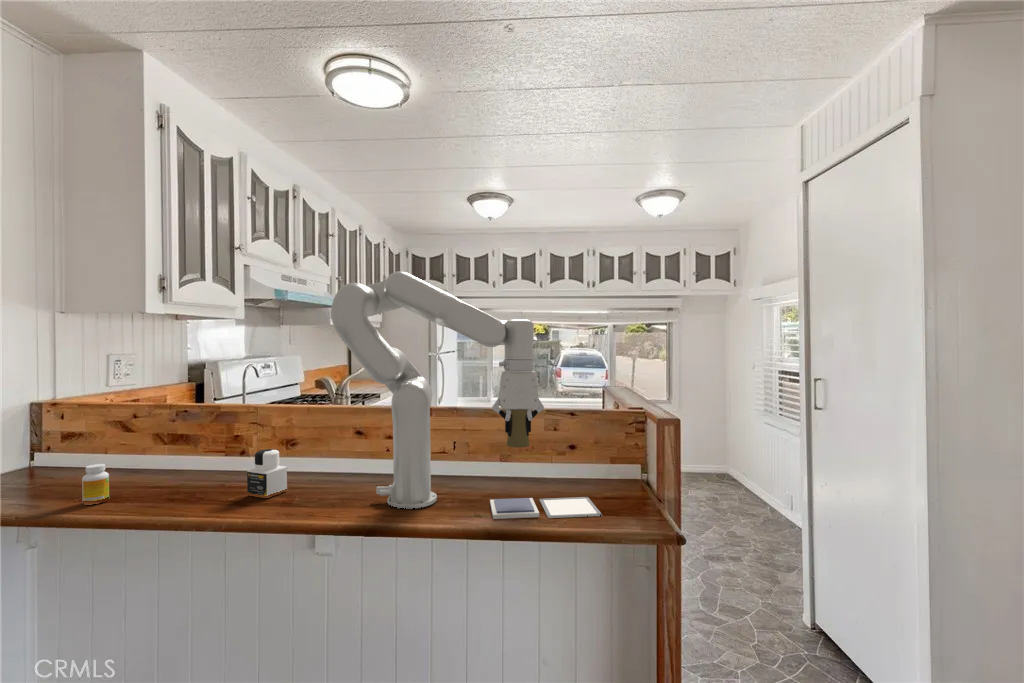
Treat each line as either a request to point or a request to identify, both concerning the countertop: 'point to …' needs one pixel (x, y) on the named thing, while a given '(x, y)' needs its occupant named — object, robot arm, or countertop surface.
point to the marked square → (569, 507)
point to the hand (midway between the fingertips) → (517, 434)
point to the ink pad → (513, 508)
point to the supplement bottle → (95, 483)
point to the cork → (518, 429)
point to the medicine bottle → (267, 474)
